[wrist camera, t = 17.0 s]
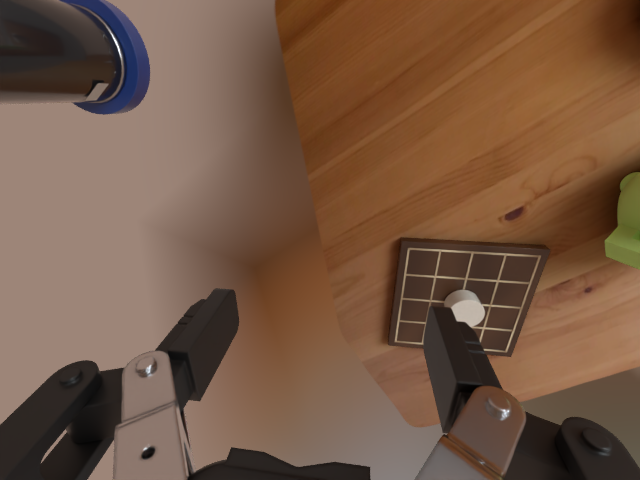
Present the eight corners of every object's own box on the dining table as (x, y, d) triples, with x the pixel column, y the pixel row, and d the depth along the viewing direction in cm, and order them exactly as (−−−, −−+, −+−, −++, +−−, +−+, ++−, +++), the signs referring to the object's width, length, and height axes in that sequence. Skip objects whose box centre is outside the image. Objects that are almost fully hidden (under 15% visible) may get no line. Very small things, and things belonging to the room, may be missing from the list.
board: (387, 339, 49) (388, 345, 47) (400, 237, 41) (401, 241, 40) (507, 351, 46) (511, 357, 45) (545, 245, 39) (551, 250, 38)
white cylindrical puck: (441, 315, 44) (445, 326, 42) (446, 288, 42) (451, 298, 40) (474, 317, 43) (480, 329, 41) (482, 290, 41) (488, 301, 39)
